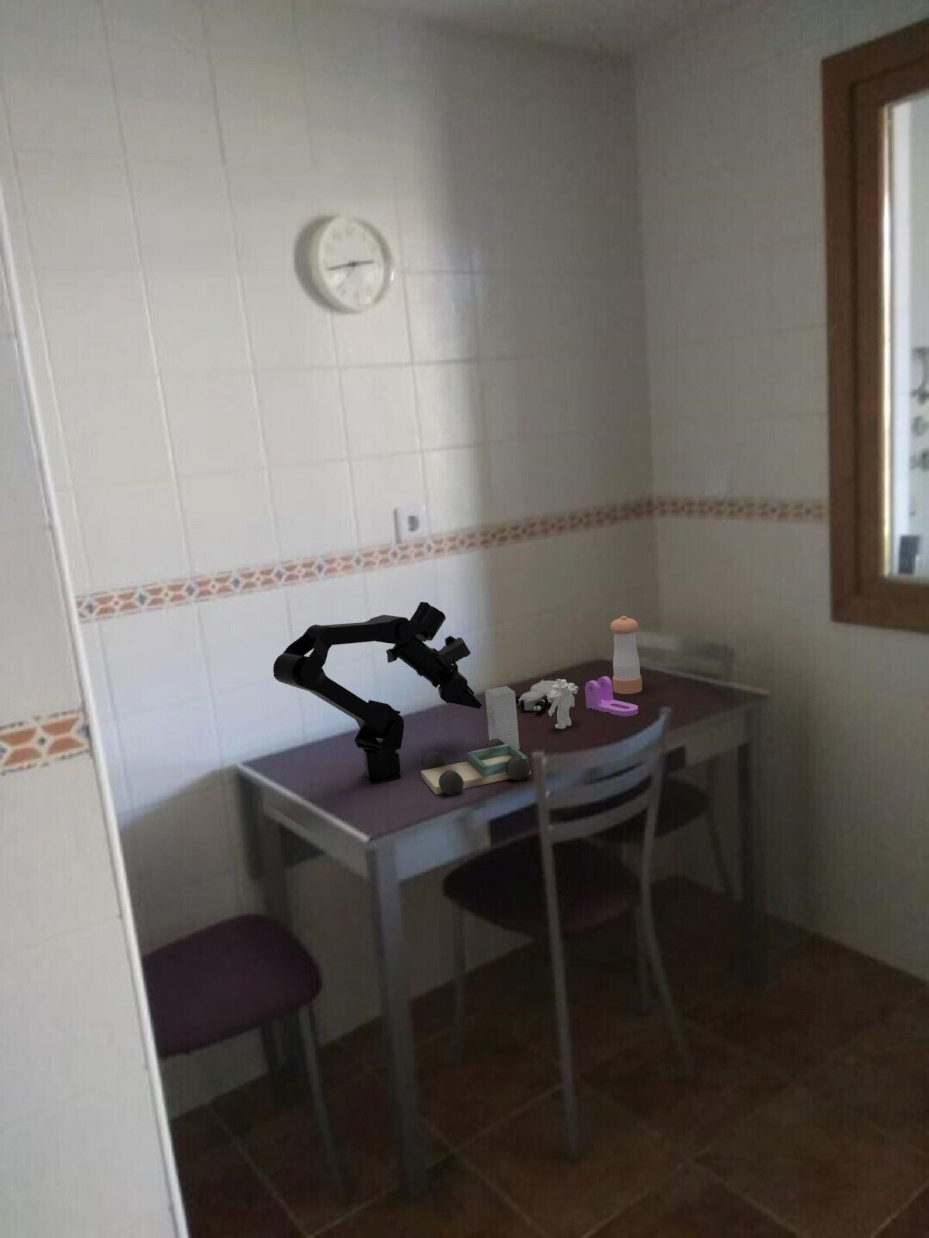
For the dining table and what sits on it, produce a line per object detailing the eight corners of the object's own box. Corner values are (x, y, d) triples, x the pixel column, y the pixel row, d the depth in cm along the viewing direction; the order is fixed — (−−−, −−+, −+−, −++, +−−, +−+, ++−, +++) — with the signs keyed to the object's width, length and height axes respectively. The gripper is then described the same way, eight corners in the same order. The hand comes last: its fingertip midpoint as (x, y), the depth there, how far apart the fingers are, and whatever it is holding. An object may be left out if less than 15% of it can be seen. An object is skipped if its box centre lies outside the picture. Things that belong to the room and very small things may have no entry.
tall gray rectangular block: (498, 753, 204) (493, 695, 201) (489, 746, 209) (484, 689, 206) (519, 749, 206) (514, 691, 203) (511, 742, 210) (506, 686, 208)
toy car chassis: (439, 798, 183) (436, 776, 182) (418, 774, 196) (416, 754, 195) (534, 777, 189) (532, 756, 188) (508, 755, 202) (507, 736, 201)
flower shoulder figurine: (557, 733, 214) (554, 681, 211) (544, 729, 216) (541, 679, 214) (583, 721, 220) (580, 671, 217) (570, 718, 222) (566, 669, 220)
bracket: (586, 708, 230) (584, 680, 228) (602, 702, 233) (600, 675, 231) (627, 718, 220) (625, 689, 218) (643, 712, 223) (641, 683, 221)
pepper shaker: (611, 694, 238) (606, 619, 234) (615, 685, 245) (611, 613, 241) (640, 694, 236) (636, 619, 232) (643, 685, 243) (640, 612, 239)
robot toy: (540, 721, 225) (582, 700, 235) (537, 703, 224) (580, 683, 233) (504, 712, 235) (546, 692, 244) (501, 695, 233) (544, 676, 243)
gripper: (451, 637, 191) (509, 683, 195) (438, 619, 209) (492, 661, 213) (416, 680, 192) (475, 725, 196) (407, 658, 210) (460, 699, 214)
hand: (476, 700), depth 204 cm, fingers open, 9 cm apart
